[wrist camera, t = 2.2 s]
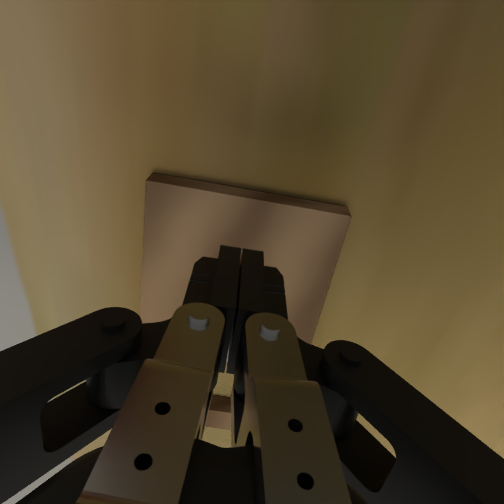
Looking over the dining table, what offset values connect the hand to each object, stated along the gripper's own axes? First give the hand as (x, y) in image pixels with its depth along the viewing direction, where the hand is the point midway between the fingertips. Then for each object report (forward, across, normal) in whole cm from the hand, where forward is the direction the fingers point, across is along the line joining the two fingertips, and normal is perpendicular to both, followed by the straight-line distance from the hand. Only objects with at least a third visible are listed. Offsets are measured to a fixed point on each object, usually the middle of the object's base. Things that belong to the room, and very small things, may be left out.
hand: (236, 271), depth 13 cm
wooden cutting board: (+11, 0, +11) cm, 16 cm away
